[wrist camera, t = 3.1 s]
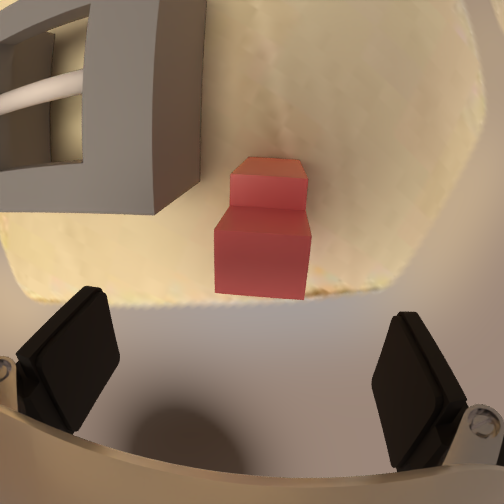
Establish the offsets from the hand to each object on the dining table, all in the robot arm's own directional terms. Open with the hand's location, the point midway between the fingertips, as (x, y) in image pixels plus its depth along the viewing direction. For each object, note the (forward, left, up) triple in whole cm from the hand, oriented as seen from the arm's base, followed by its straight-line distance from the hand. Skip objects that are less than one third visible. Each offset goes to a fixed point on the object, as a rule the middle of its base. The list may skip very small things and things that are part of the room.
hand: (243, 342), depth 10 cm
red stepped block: (0, -1, -18) cm, 18 cm away
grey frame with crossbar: (+15, -10, -18) cm, 25 cm away
